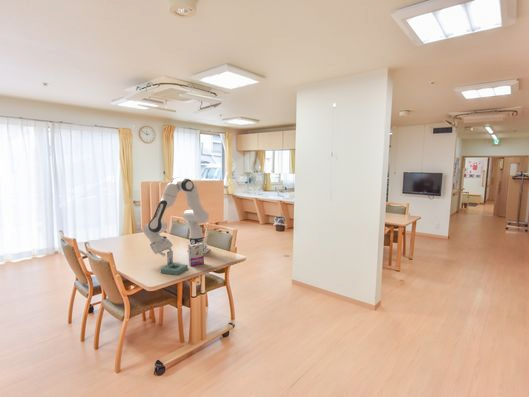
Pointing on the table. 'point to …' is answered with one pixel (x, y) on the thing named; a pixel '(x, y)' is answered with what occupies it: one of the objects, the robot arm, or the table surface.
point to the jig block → (174, 268)
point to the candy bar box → (196, 254)
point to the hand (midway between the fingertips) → (168, 254)
